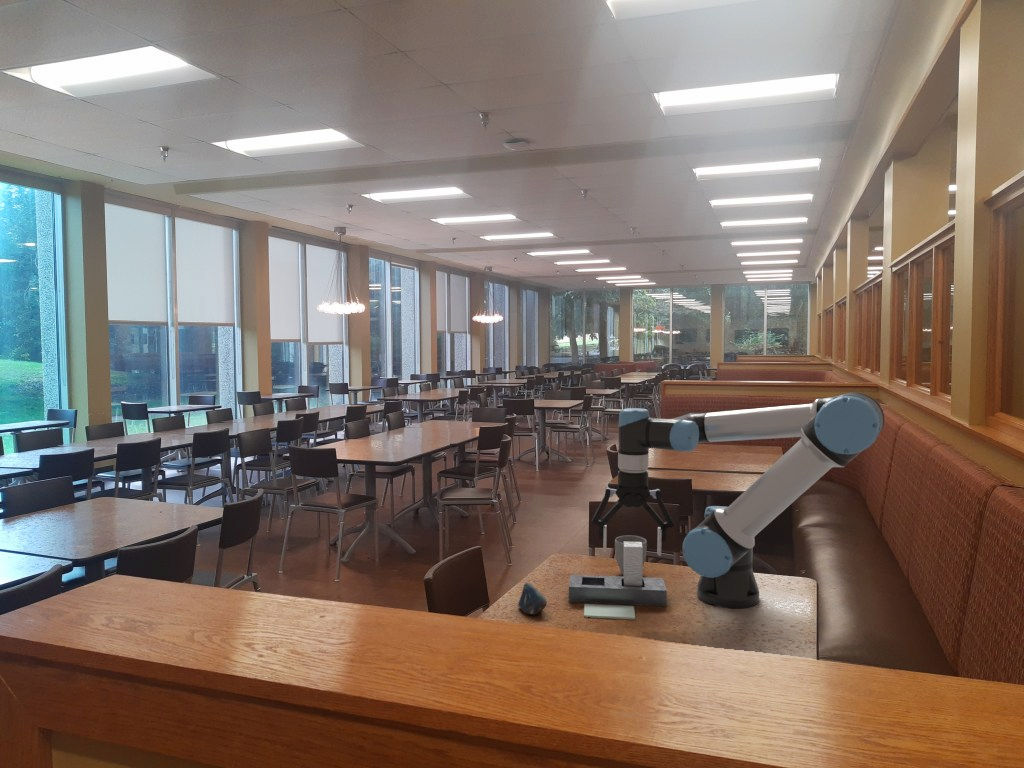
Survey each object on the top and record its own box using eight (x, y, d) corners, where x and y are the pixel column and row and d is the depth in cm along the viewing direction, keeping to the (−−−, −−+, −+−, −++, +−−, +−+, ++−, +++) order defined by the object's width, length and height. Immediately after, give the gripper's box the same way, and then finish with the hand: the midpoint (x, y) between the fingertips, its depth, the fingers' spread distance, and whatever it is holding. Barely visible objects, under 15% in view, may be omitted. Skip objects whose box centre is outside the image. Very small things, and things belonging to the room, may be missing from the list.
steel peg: (641, 595, 176) (641, 542, 175) (642, 602, 172) (642, 547, 171) (623, 594, 177) (623, 541, 176) (624, 601, 172) (624, 546, 171)
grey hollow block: (663, 593, 178) (663, 578, 177) (666, 606, 169) (666, 590, 169) (570, 589, 181) (570, 574, 181) (568, 602, 172) (568, 586, 172)
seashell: (537, 610, 160) (554, 576, 167) (506, 606, 165) (523, 574, 172) (547, 627, 163) (563, 594, 170) (516, 623, 168) (533, 591, 175)
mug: (616, 567, 199) (616, 534, 198) (647, 569, 196) (647, 536, 196) (611, 581, 187) (611, 546, 186) (644, 583, 185) (644, 548, 184)
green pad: (633, 608, 168) (633, 606, 168) (635, 619, 161) (635, 617, 161) (584, 606, 169) (584, 604, 169) (583, 617, 162) (583, 615, 162)
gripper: (682, 468, 174) (680, 550, 176) (583, 465, 178) (582, 546, 179) (685, 474, 167) (684, 559, 168) (582, 471, 170) (582, 555, 172)
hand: (631, 552), depth 174 cm, fingers open, 13 cm apart
